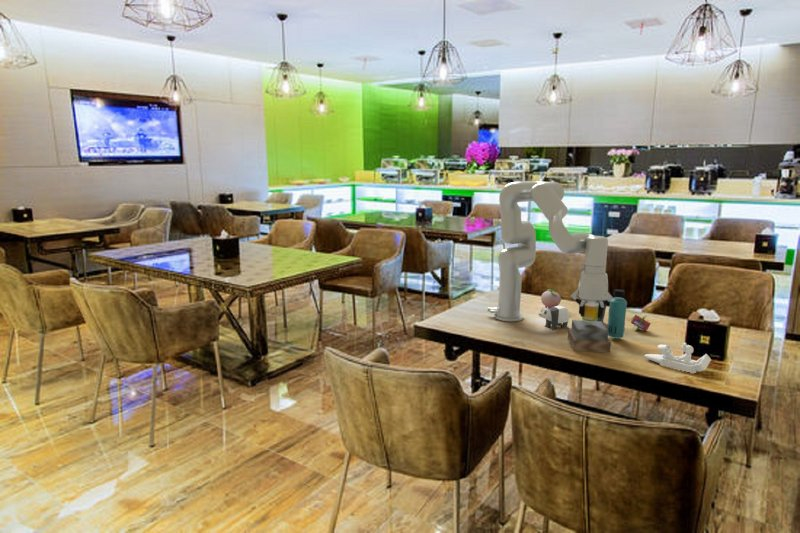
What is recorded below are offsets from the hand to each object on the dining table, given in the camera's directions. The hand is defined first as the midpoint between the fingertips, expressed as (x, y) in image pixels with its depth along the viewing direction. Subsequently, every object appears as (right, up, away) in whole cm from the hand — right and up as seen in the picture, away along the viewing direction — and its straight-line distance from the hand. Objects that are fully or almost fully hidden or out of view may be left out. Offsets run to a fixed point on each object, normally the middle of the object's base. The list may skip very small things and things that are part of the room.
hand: (590, 315), depth 197 cm
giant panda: (-7, -7, +23) cm, 25 cm away
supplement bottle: (0, -2, 0) cm, 2 cm away
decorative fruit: (-1, -2, +48) cm, 48 cm away
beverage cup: (+14, -6, +30) cm, 34 cm away
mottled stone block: (0, -12, +2) cm, 12 cm away
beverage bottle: (+13, -10, +10) cm, 19 cm away
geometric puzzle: (+28, -8, +19) cm, 35 cm away
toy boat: (+23, -16, -16) cm, 33 cm away
